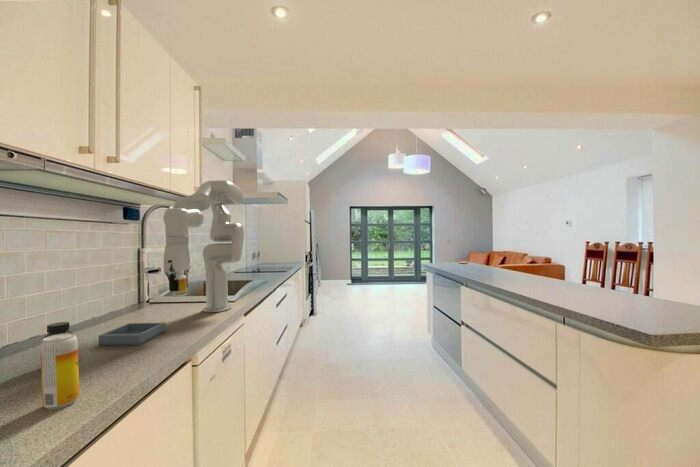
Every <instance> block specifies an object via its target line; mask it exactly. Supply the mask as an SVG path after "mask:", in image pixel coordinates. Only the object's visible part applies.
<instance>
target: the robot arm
mask: <svg viewBox="0 0 700 467" xmlns="http://www.w3.org/2000/svg"><path fill="white" fill-rule="evenodd" d="M243 193H244V192H243V191H242V189H241V188H240V187H239V186H237V185H236V184H235V183H234V182H231V181H229V180H225V179H224V180H222V179H221V180H218V179H217V180H206V181H205V182H203V183H202V184H201V185H200V187H198V188H197V189H196V191H195V192H194V193H192V194H190V195H187V196H185V197H182V198H181V199H178V200H176V201H174V202H173V203H171V205H169V207H168V208H166V209H165V211H164V212H163V213H164V214H163V219H162V220H163V223H164V228H165V230H164V231H165V233H164V234H165V247H164V254H163V272H164V274H165V275H166V277H167V280H168V289H169V291H170V292H171V291H178V290H179V283H178V280H177V277H178V272H180V271H182V270H184V275H186V278H187V288H188V287H189V283H188V282H189V281H188V278H189V272H190V269H191V261H190V260H191V258H190V250H189V229H190V228H191V229H192V228H193V229H194V228H197V227H201V225H203V224H204V217H205V216H204V214H203V211H207V210H209V209H211V211H212V221H211V227H210V232H209V237H210V240H211V241H212V242H214V243H210V244H209V243H208V244H207V245H205V246H204V247H203V249H202V258H203V262H204V269H205V271H204V272H205V294H206V296H205V297H206V300H205V301H206V302H205V303H206V306H204V307H203V308H202V311H203V312H205V313H219V312H225V311H228V310H231V309H232V304H230V303H229V301H230V297H229V295H228V292H229V291H228V289H229V288H228V270H227V269H226V268H225V266H224V265H223V264H237V263H239V262H240V261H241V259H242V254H243V248H244V241H245V229H244V226H243V225H242V224H241V223H238V222H231V221H232V215H231V213H230V212H229V210H228V209H227V208H226V207H225V206H238V205H241V204H242V203H243V200H244V194H243ZM172 270H174V271H173V272H172ZM173 274H175V275H173Z"/></svg>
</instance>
